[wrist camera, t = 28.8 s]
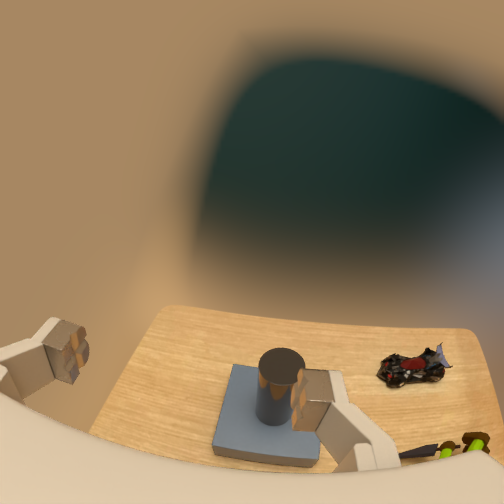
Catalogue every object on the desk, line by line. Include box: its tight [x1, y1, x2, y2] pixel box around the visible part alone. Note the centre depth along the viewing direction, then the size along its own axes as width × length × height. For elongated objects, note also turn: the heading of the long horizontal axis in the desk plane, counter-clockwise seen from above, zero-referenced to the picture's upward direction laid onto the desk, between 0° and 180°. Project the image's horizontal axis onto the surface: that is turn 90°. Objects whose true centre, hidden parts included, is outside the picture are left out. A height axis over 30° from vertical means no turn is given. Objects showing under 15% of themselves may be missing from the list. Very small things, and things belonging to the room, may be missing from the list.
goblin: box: [398, 432, 490, 459], centre depth 23 cm, size 10×14×15 cm
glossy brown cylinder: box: [255, 348, 305, 426], centre depth 30 cm, size 4×4×10 cm
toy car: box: [377, 342, 453, 387], centre depth 39 cm, size 6×12×4 cm, turn 88°
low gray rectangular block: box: [212, 364, 320, 467], centre depth 34 cm, size 12×12×4 cm
